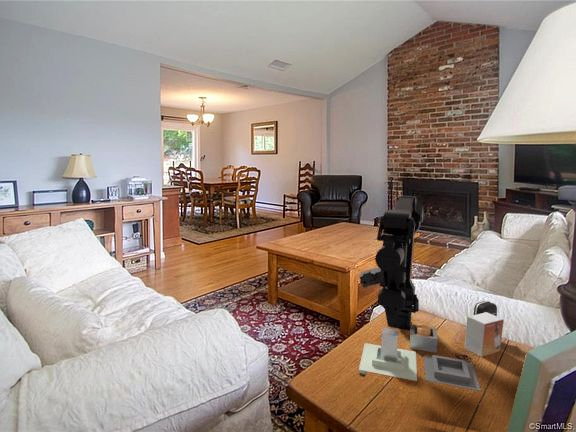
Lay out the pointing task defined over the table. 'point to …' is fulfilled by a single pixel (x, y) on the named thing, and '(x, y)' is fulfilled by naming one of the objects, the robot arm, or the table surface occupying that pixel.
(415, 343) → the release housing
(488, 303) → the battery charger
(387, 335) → the steel peg
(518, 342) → the table surface
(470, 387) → the charcoal socket
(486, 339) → the small box
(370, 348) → the pale green socket
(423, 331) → the tan egg
